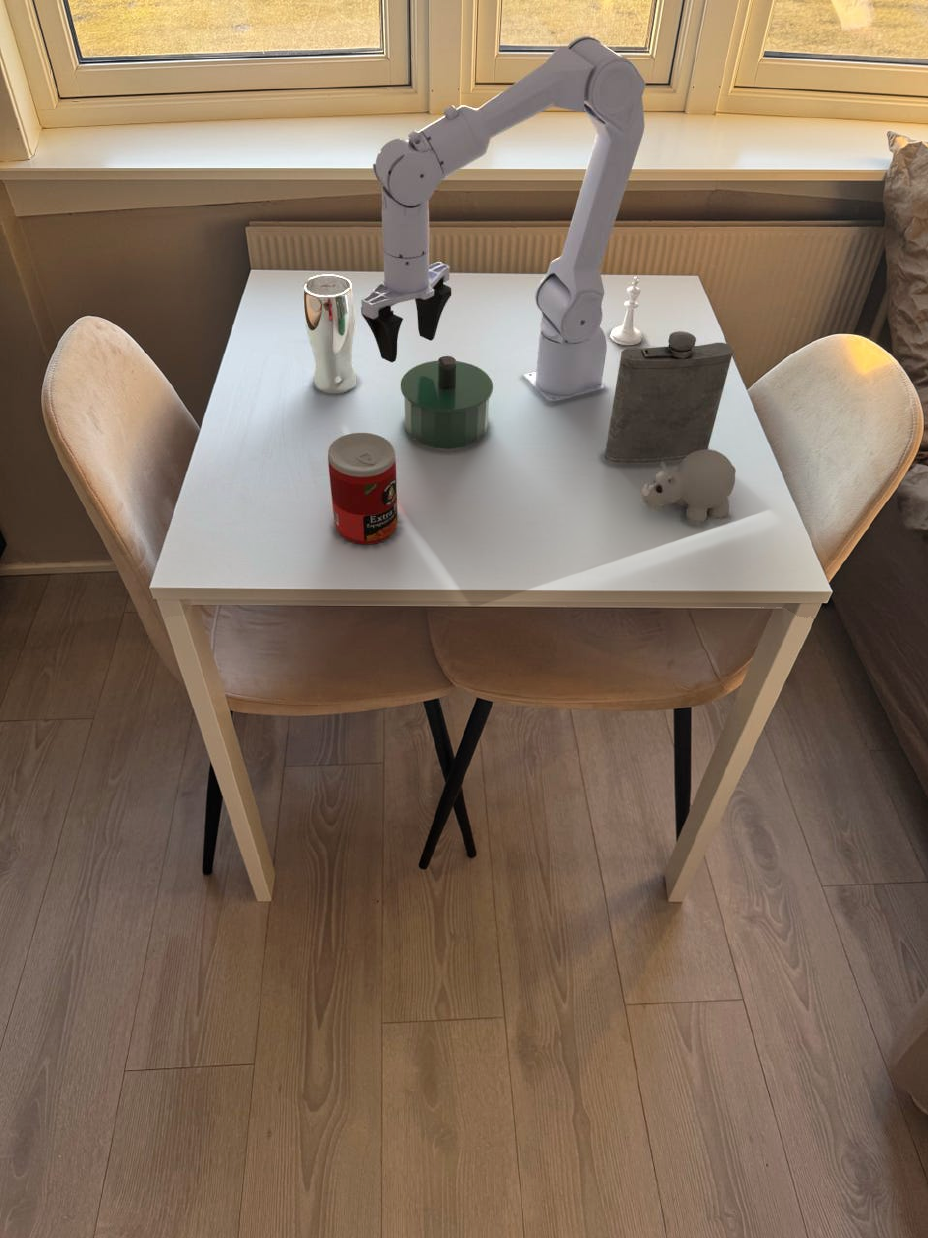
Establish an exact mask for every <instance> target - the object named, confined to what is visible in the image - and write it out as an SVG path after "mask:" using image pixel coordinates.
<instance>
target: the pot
mask: <svg viewBox="0 0 928 1238" xmlns="http://www.w3.org/2000/svg"><path fill="white" fill-rule="evenodd" d="M403 403H404V404H403V407H404V408H403V409H404V428H405V432H406V433H407V434H408V435H409V437H410V438H411V439H413V440H414V441H416V442H417V443H419V444H421V445H423V446H427V447H430V448H434V449H447V450H451V449H458V448H465V447H467V446H470V445H472V444H474V443H477V442H478V441H480V439H481V438H483V437H484V436H485V435H486V432H487V430H488V427H489V407H490V398H489V399H488V400H487V401H486V402H485V403H484V404H482V405H481V406H479V407H477V408H474V409H472V410H468V411H464V412H458V413H438V412H432V411H428V410H424V409H421V408H419V407H417V406H415V405H413V404H411V403H410V402H409V401H408V400H407V399H406V398H405V397H404V396H403Z"/></svg>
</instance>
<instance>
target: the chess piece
mask: <svg viewBox="0 0 928 1238" xmlns="http://www.w3.org/2000/svg"><path fill="white" fill-rule="evenodd" d="M638 278H639V277H638V276H634V277H633V281H632V282H631V284H630V286H629V287H628V288H627V289H626V292H627V298H628V300H626V301H625V302H624V305H623V306H624V307H625V308H627V310H626V312H625V316H624V320H623V323H622V324H621V325H620V326H617V327H614V328H613V329H612V330H611V333H610V339H611V340H612V342H614V343H616V344H618V345H622V346H634V345H638V344H640V343H641V341H642V332H641V331H640V330H639V329H637V328H636V327H634V313H635V309H637V308H638V307H639V303H638V302H637V300H638V297H639V296H640V293H641V289H640V288H639V287H637V286H638V284H639V281H640V280H639V279H638Z"/></svg>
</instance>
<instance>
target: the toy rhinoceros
mask: <svg viewBox="0 0 928 1238" xmlns="http://www.w3.org/2000/svg"><path fill="white" fill-rule="evenodd" d="M735 483H736V468H735V466H734V465H733V464H732V462H731V461H730V460H729V458H728V457H727V456H726V455H725V454H723V453H721V452H720V451H717V450H714V449H709V448H708V449H703V450H698V451H695V452H692V453H691V454H689V455H687V456H686V457H685V458H684V459H681V461H680V462H679V464H678V466H677V468H676V469H674V468H668V467H667V464H666V463H665V461H663V462H660V469H659V471H657V473H656V474H655V476H654V479H653V482H652V484H651V485H649V486H648V483H644V484H643V485H644V486H643V487H642V489H641V491H642V492H641V494H642V502H643V504H644V505H645V506H646V507H648V508H649V509H658V508H660V507H662V506H663V505H665V504H675V503H676V504H677V505H679V506H680V507H685V508H686V507H687V508H686V511H685V518H686V519H687V520H688V521H690V522H692V523H695V524H701V523H703V522H705V521H706V519H707V518H708V517H707V516H708V515H709V516H710V517H712V518H713V519H718V520H723V519H725V518H727V517H728V515H729V513H730V502H729V499H728V498H729V497H730V495H731V494H732V492H733V490H734V487H735Z"/></svg>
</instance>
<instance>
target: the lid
mask: <svg viewBox="0 0 928 1238" xmlns="http://www.w3.org/2000/svg"><path fill="white" fill-rule="evenodd" d="M400 391H401V394H402V396H403V398H404V397H405V398H406V399H407V400H408V401H409V402H410V403H411V404H413V405H415V406H417V407H419V408H421V409H424V410H428V411H432V412H438V413H458V412H464V411H468V410H472V409H474V408H477V407H479V406H481V405H482V404H484V403H485V402H486V401H487V400H488V399H489V400H490V398H491V397H492V395H493V393H494V392H493V391H494V383H493V380H492V377H491V376H490V375H489V373H487V372H486V371H485V370H484V369H482V368H480V367H479V366H476V365H474V364H472V363H468V362H465V361H460V360H457V358H455V356H452V355H441V356H440V357H439V358H438V359H437V360H431V361H426V362H422V363H420V364H417V365H415V366H413V367H411V368H410V369H408V370H407V371H406V372H405V374H403V376H402V378H401V380H400Z"/></svg>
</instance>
